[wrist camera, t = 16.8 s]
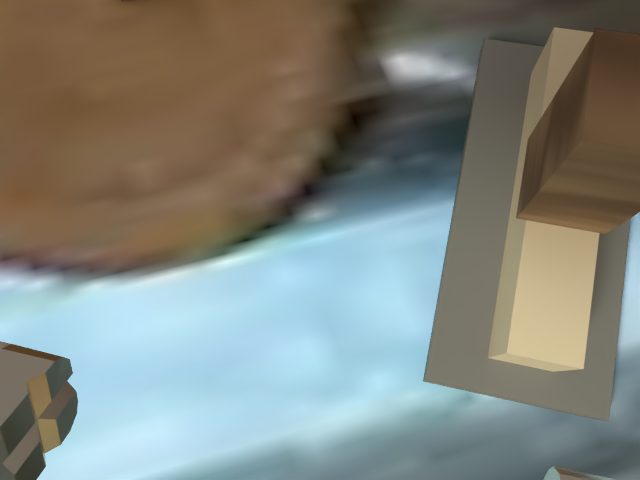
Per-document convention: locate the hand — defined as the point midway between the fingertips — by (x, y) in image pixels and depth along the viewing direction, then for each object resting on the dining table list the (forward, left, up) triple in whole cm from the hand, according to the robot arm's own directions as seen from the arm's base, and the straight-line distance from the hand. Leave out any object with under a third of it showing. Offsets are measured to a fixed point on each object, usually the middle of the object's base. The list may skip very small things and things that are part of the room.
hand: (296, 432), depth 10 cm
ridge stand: (-7, +14, -26) cm, 30 cm away
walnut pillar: (-7, +14, -20) cm, 25 cm away
